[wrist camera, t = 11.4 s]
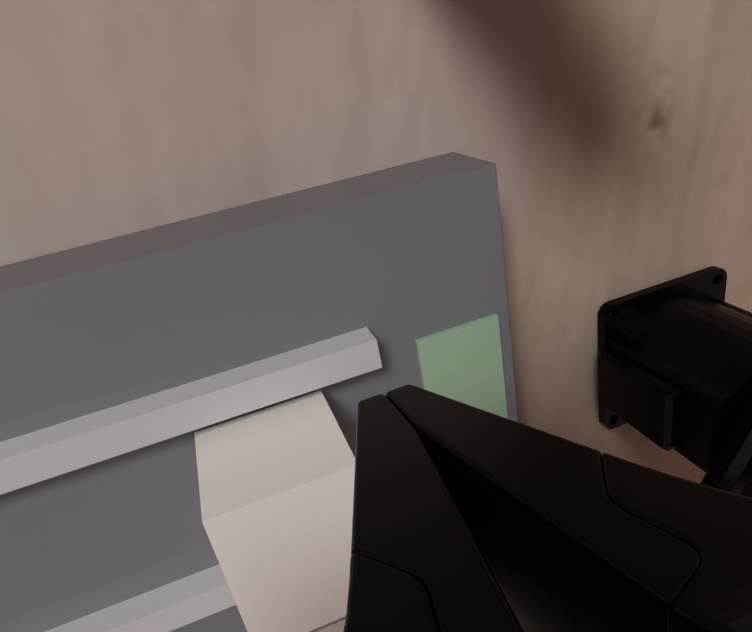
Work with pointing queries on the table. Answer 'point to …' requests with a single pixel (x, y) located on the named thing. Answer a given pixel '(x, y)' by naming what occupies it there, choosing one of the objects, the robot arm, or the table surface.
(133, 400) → the slider switch base
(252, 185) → the table surface
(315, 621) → the switch knob
